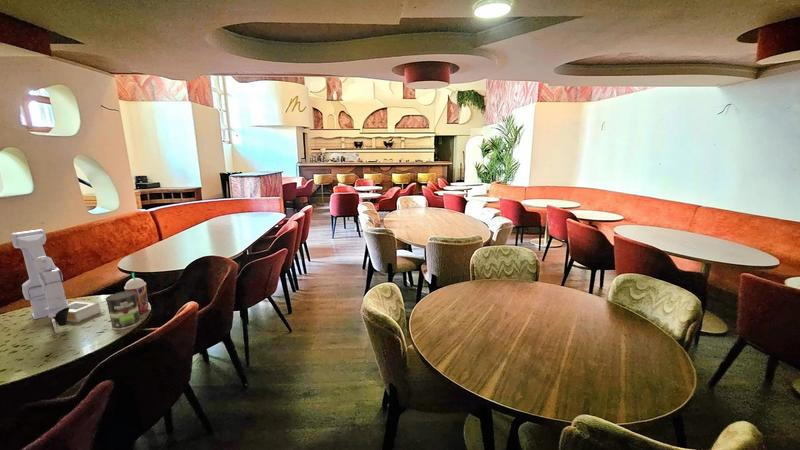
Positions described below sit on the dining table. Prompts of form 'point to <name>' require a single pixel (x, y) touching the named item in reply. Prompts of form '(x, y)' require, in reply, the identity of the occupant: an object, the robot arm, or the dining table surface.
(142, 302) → the smoothie
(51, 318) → the side door
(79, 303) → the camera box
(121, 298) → the coffee can
